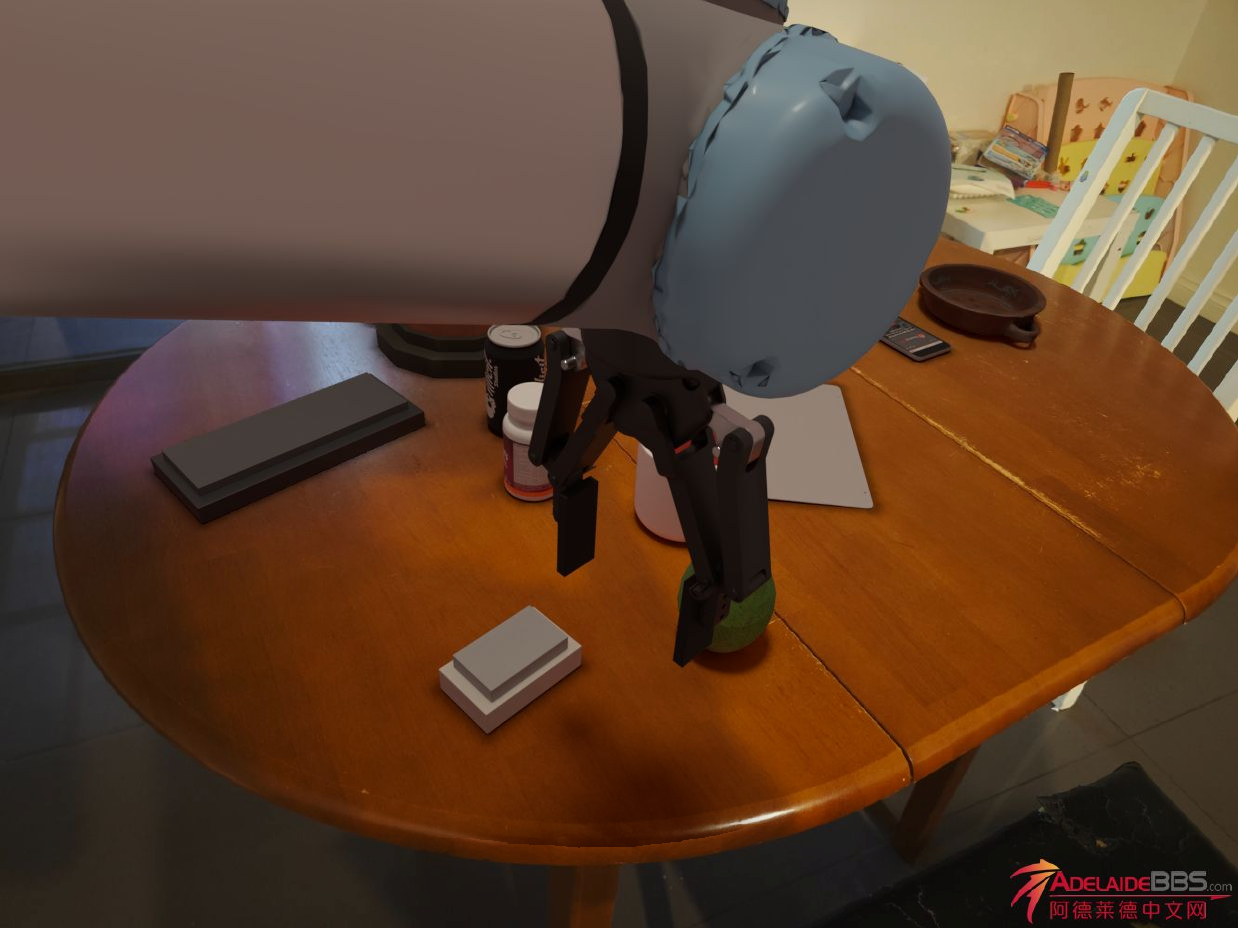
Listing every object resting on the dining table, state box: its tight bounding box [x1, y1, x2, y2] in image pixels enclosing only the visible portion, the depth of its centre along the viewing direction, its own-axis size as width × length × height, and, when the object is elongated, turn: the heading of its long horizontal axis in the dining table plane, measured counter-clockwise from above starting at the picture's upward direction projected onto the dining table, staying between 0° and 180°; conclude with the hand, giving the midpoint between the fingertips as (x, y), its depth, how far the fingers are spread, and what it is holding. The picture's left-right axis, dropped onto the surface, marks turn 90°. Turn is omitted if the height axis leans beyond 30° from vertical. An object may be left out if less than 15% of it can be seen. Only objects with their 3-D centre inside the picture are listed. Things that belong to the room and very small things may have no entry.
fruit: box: [676, 561, 777, 654], centre depth 71 cm, size 8×8×12 cm
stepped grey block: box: [438, 604, 583, 735], centre depth 69 cm, size 10×6×4 cm, turn 136°
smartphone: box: [879, 315, 953, 362], centre depth 123 cm, size 7×1×15 cm
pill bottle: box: [502, 382, 553, 502], centre depth 87 cm, size 6×6×11 cm
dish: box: [918, 263, 1047, 344], centre depth 128 cm, size 18×22×5 cm
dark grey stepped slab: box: [149, 371, 426, 525], centre depth 93 cm, size 26×11×3 cm, turn 136°
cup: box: [633, 430, 718, 543], centre depth 85 cm, size 10×10×10 cm
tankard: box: [375, 323, 541, 379], centre depth 108 cm, size 22×25×25 cm
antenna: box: [723, 383, 874, 510], centre depth 101 cm, size 25×24×1 cm
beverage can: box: [484, 325, 546, 436], centre depth 96 cm, size 7×7×12 cm
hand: (631, 606), depth 53 cm, fingers open, 9 cm apart
